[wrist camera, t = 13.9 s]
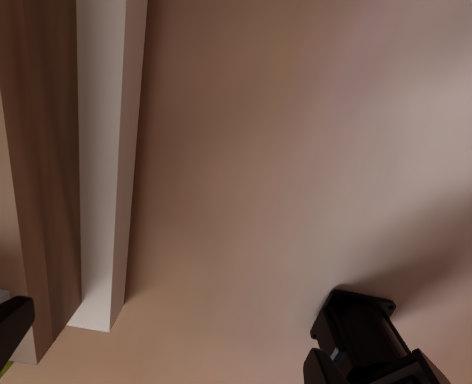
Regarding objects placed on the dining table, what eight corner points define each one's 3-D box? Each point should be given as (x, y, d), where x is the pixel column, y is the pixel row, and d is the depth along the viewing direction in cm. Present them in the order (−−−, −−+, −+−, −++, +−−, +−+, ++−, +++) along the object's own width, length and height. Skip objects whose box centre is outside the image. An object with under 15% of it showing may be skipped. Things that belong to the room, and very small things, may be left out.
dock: (155, -96, 13) (132, -145, 10) (123, 305, 25) (108, 333, 22) (-65, -164, 12) (-155, -238, 10) (9, 284, 24) (-22, 311, 21)
